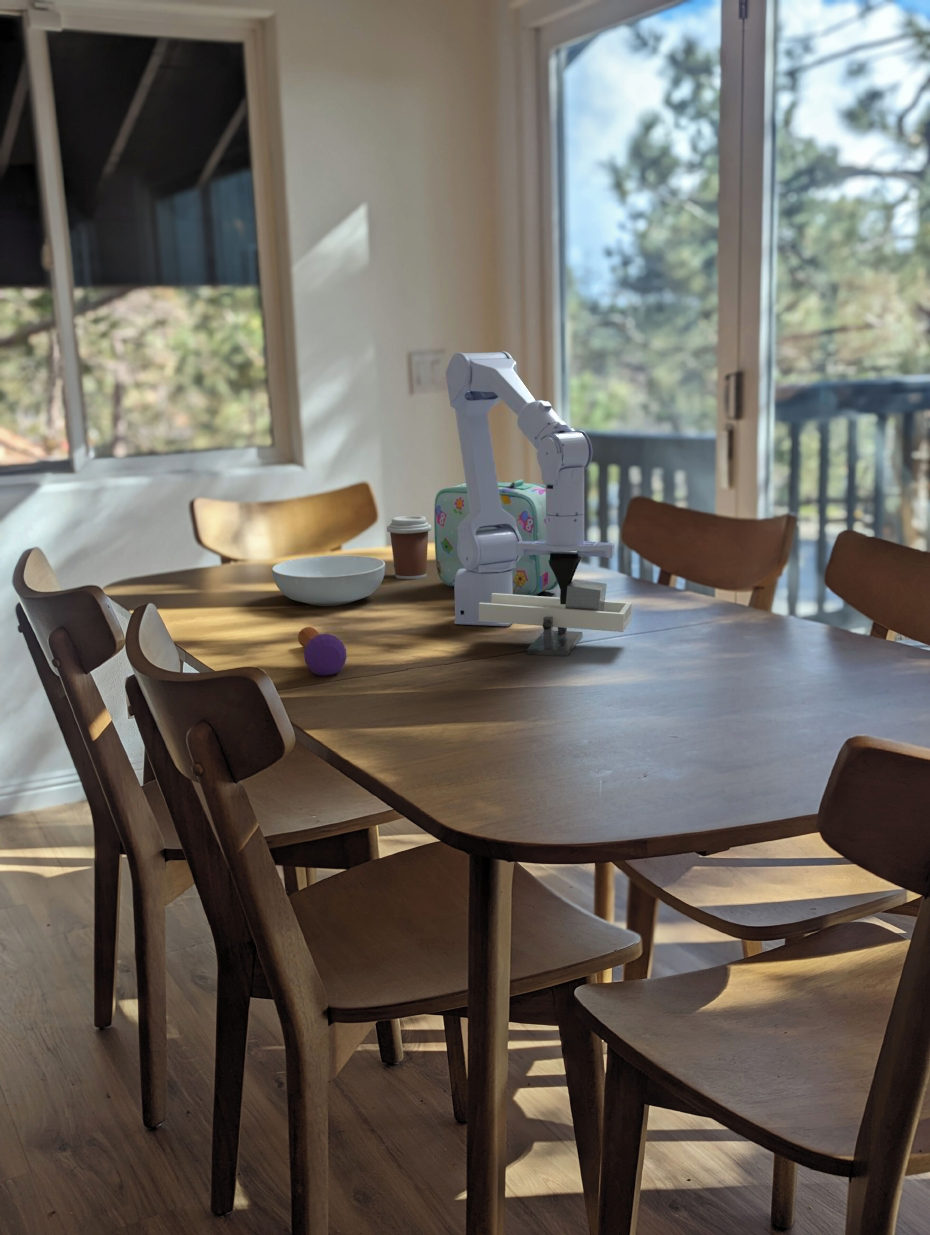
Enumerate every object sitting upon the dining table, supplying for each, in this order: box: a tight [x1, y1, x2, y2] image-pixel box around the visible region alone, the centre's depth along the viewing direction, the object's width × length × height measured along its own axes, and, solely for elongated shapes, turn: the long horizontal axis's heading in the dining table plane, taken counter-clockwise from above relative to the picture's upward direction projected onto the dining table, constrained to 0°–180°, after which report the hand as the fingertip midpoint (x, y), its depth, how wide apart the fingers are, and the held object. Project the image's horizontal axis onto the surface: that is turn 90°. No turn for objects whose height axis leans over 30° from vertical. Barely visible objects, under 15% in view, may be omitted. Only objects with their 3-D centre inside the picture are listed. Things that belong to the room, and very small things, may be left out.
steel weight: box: [565, 578, 608, 612], centre depth 172 cm, size 5×5×4 cm
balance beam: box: [479, 593, 633, 633], centre depth 173 cm, size 22×8×3 cm, turn 73°
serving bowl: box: [271, 554, 386, 607], centre depth 211 cm, size 21×21×7 cm
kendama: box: [297, 626, 348, 677], centre depth 169 cm, size 6×6×20 cm
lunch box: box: [433, 478, 559, 596], centre depth 214 cm, size 27×10×21 cm, turn 50°
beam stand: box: [526, 617, 583, 657], centre depth 174 cm, size 6×12×6 cm, turn 163°
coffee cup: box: [386, 515, 432, 580], centre depth 232 cm, size 9×9×12 cm
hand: (565, 603), depth 173 cm, fingers closed, pressing on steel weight
